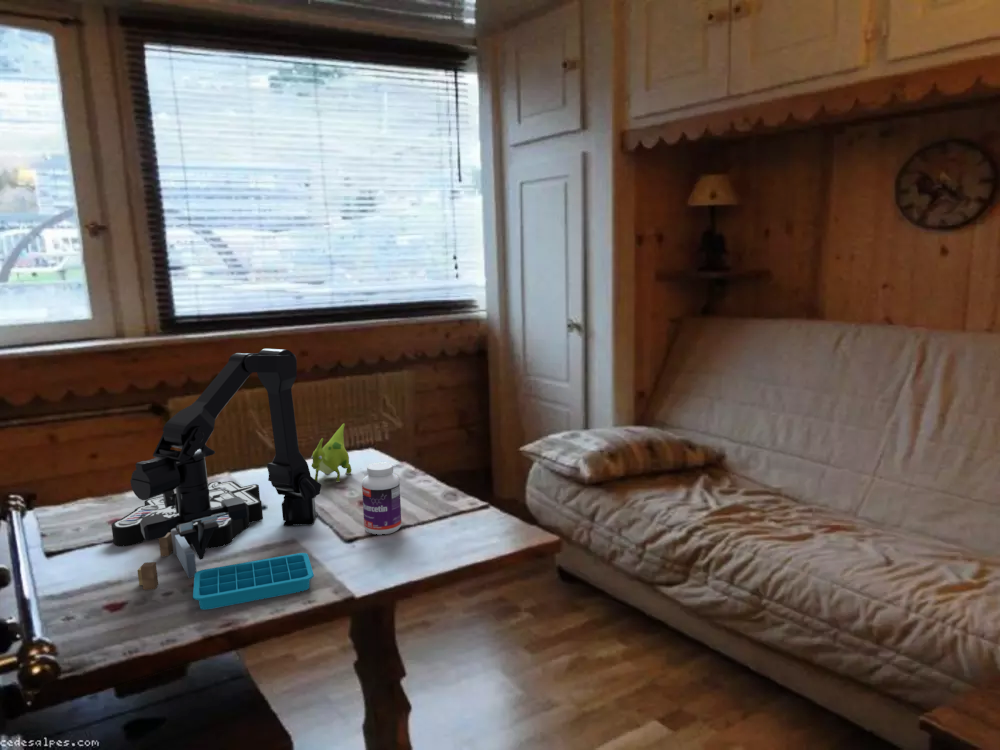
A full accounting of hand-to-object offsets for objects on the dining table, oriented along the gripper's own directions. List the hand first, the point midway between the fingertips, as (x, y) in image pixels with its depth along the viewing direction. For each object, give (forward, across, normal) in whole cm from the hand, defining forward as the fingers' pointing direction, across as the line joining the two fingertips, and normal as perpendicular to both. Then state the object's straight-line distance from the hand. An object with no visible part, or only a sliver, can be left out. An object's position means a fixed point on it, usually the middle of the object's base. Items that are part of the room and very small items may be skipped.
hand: (200, 558), depth 139 cm
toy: (+3, -40, -36) cm, 54 cm away
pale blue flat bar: (+2, +2, -4) cm, 5 cm away
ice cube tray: (+2, -6, +15) cm, 17 cm away
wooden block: (+2, +9, +2) cm, 10 cm away
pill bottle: (+2, -36, +5) cm, 37 cm away
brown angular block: (+2, +4, -11) cm, 12 cm away
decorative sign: (+2, -5, -26) cm, 27 cm away
